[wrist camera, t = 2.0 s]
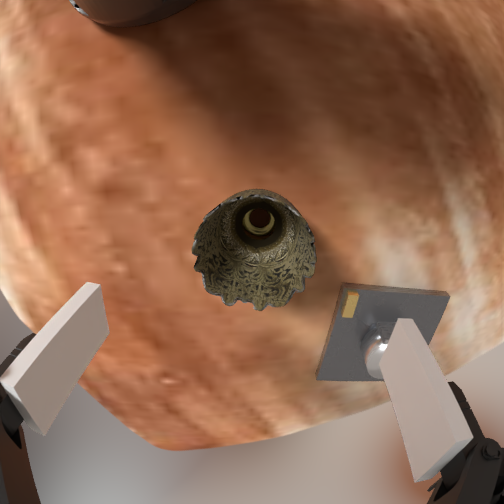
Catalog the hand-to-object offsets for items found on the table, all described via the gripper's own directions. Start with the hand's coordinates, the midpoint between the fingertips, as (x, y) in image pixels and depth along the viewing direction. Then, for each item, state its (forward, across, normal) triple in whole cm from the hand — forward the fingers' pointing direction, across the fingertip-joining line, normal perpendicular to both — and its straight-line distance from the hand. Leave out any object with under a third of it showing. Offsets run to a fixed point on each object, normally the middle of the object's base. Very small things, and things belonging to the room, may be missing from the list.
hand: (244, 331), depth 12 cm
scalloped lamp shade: (+14, 0, +1) cm, 14 cm away
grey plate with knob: (+14, +14, -10) cm, 23 cm away
